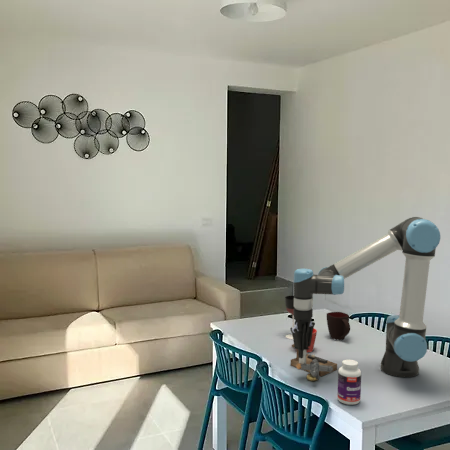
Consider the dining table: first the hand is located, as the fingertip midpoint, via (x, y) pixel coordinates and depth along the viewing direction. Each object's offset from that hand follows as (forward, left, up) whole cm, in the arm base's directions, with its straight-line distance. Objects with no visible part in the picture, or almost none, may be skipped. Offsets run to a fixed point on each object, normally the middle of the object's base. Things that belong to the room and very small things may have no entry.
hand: (302, 364), depth 204 cm
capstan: (-5, -1, -5) cm, 7 cm away
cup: (+17, -50, -5) cm, 53 cm away
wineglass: (+35, -36, -5) cm, 50 cm away
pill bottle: (-25, +5, -5) cm, 26 cm away
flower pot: (+19, -25, -5) cm, 32 cm away
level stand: (+3, -11, -5) cm, 12 cm away
